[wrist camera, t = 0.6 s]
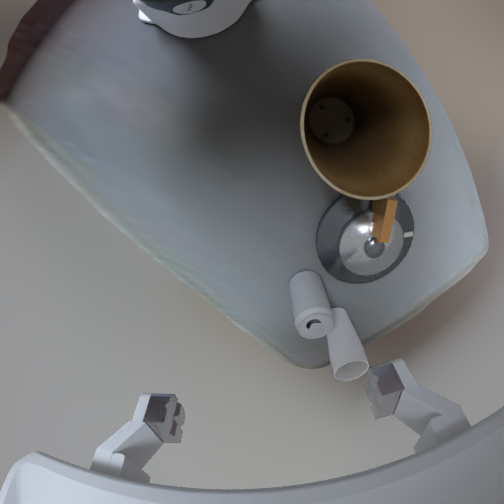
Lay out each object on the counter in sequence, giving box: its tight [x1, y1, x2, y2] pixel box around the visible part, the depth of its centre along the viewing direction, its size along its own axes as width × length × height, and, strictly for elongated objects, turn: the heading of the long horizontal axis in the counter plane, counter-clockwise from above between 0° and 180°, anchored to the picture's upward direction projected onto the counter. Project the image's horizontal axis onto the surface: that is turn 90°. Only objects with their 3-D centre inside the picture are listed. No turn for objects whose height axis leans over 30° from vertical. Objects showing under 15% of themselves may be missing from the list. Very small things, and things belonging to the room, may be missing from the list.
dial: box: [337, 196, 403, 275], centre depth 43 cm, size 16×12×5 cm
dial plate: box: [316, 194, 414, 283], centre depth 46 cm, size 19×19×2 cm
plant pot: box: [299, 59, 432, 200], centre depth 30 cm, size 15×15×16 cm
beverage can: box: [289, 271, 334, 339], centre depth 47 cm, size 6×6×12 cm
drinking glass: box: [326, 307, 369, 381], centre depth 50 cm, size 7×7×15 cm
